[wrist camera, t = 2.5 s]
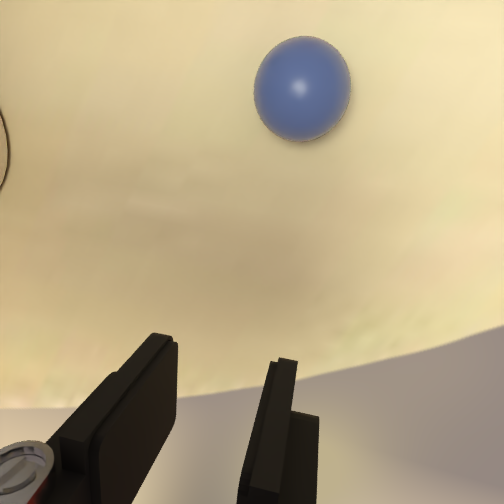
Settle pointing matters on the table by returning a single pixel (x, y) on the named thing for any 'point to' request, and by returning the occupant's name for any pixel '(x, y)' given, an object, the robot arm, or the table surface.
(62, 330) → the table surface
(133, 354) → the robot arm
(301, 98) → the blue ball
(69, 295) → the table surface
